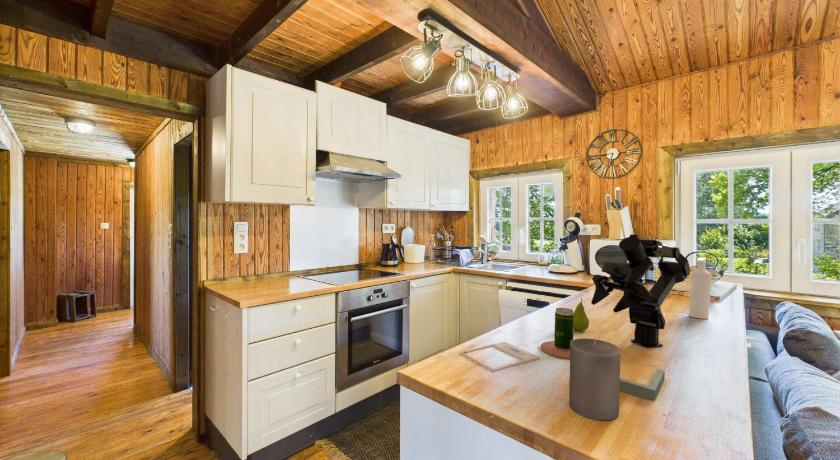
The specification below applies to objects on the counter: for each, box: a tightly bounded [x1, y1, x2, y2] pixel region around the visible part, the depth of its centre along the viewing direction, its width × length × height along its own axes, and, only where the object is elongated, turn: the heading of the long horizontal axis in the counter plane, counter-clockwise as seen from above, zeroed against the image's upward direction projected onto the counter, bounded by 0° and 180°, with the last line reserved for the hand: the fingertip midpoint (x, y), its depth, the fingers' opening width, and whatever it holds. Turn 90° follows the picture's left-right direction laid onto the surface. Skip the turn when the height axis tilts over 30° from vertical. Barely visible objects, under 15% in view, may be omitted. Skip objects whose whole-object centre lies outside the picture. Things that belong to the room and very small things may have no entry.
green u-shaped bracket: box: [620, 368, 666, 402], centre depth 90 cm, size 14×17×2 cm
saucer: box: [540, 340, 570, 360], centre depth 108 cm, size 13×13×1 cm
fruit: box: [573, 297, 590, 332], centre depth 128 cm, size 6×6×12 cm
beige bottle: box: [688, 257, 713, 320], centre depth 148 cm, size 7×12×25 cm, turn 131°
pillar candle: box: [568, 337, 621, 421], centre depth 75 cm, size 10×10×15 cm
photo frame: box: [459, 341, 541, 373], centre depth 104 cm, size 15×1×18 cm
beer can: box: [553, 307, 575, 351], centre depth 108 cm, size 5×5×12 cm
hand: (602, 307), depth 108 cm, fingers open, 9 cm apart
